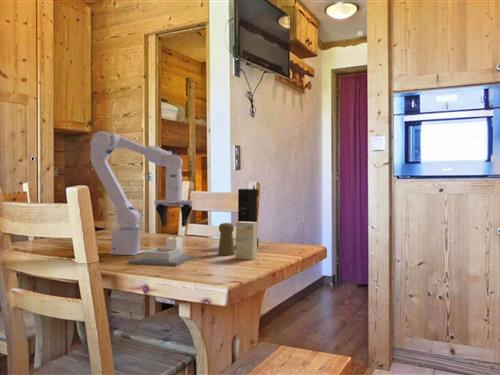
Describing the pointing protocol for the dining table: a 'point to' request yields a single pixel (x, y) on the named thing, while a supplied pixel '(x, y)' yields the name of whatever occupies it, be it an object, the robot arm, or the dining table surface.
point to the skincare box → (246, 240)
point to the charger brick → (174, 242)
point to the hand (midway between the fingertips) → (174, 226)
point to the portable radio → (247, 205)
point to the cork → (226, 240)
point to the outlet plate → (162, 257)
